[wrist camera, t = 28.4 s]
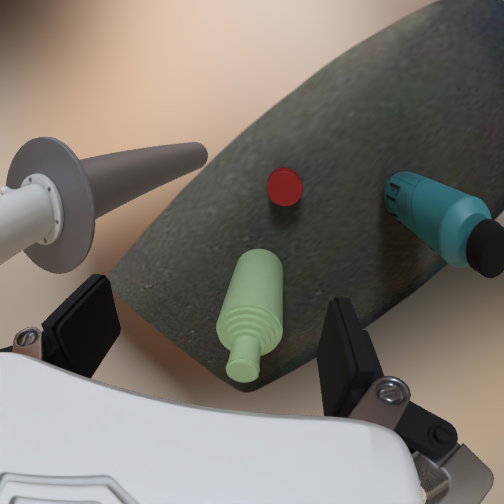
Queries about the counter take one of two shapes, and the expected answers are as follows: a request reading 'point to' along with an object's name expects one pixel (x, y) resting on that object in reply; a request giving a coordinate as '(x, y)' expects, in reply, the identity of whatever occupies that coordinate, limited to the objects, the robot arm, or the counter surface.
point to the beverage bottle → (447, 222)
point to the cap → (284, 187)
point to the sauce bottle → (252, 313)
